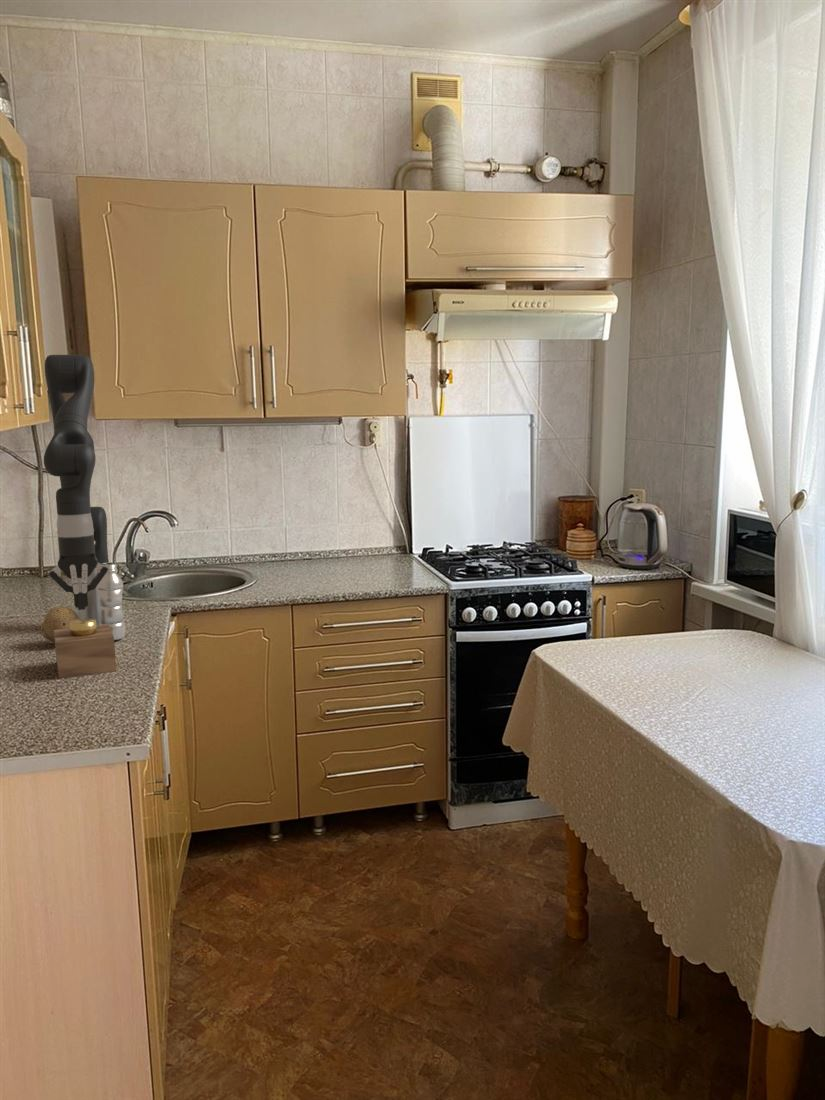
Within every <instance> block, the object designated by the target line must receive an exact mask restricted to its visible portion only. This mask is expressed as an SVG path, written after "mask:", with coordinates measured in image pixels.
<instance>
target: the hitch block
mask: <svg viewBox="0 0 825 1100" xmlns="http://www.w3.org/2000/svg"><path fill="white" fill-rule="evenodd" d="M96 627H97V633H95V634H93V635H89V636H71V632H70V629H61V630H54V636H55V643H54V646H55V659H56V666H57V674H58V679H65V677H66V678H73V676H74V677H81V675H82V676H88V675H89V676H90V675H95V674H104V673H112V672H117V664H116V663H117V661H116V650H115V649H116V647H115V646H116V645H115V640H114V636H113V634H112V631H111V629H110V627H109V624H107V625H98V626H96Z"/></svg>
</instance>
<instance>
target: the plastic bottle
mask: <svg viewBox="0 0 825 1100" xmlns="http://www.w3.org/2000/svg"><path fill="white" fill-rule="evenodd" d="M101 565H103V566H106V567H107V568H108V571H107V573H106V574H105V575H104V577H103V578H102V580H101V581H100V582H99V584H98V585H97V589H98V594H99V599H100V609H101V614H100V625H107V624H109V627H110V629H111V631H112V634H113V636H114V641H117V640H121V639H123V638H124V637H125V635H126V623H125V620H124V614H123V591H124V582H123V579H122V577H121V576H120V575H119V574H118V573H117V572H118V568H117V562H109V563H103V564H101Z"/></svg>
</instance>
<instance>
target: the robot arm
mask: <svg viewBox="0 0 825 1100" xmlns="http://www.w3.org/2000/svg"><path fill="white" fill-rule="evenodd" d="M94 369H95V368H94V363H93V361H92V358H91V357H89V356H87V355H84V354H50V355H47V357H46V358H45V360H44V376H45V382H46V387H47V392H48V398H49V403H50V410H51V414H52V422H53V435H52V437H51V439H50V441H49V443H48V445H47V446H46V449H45V451H44V453H43V454H44V455H43V465H44V469H45V470H46V471H47V473H48V474H49V475H51V476H53V477H59V481H60V488H58V489H57V490H56V492H55V502H56V504H55V505H56V513H57V514H56V515H57V516H56V528H57V530H56V534H57V543H58V553H59V554H58V555H59V558H58V561H57V565H56V566H55V567H54V568H52V569H51V570H49V572H48V576H50V578H51V579H52V580H53V581H55V583H56V584H57V585H58V586H59V587H60V588H62V589H63V590H64V591H65V592H66V593H71V594H73V601H74V602H73V603H74V607H75V613H76V614H77V616H78V618H79V619H95V620H96V626H98V625H100V614H101V609H100V599H99V594H98V589H97V585H98V584H99V582H100V581H101V580H102V578H103V577H104V575H105V574H106V573H107V571H108V568H107V567H106V566H103V565H101V564H103V563H110V561H109V552H108V550H109V549H108V518H107V513H106V510H105V509H104V508H103V507H102V506H91V483H92V478H93V475H94V470H95V467H96V466H95V465H96V460H97V459H96V453H95V443H94V440H93V437H92V435H91V434H90V432H89V430H88V418H89V411H90V409H91V408H90V407H91V403H92V399H93V393H94V388H95V370H94ZM64 394H72V396H71V397H69V398H68V399H67V400H66V398H65V396H64ZM61 571H62V572H63V574H64V575H65V576H66V577H67V578H68V579H70V580H71V585H69V584H68V583H67V582H66V580H64V579H63V578H62V577H61V576H62V572H61Z"/></svg>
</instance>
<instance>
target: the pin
mask: <svg viewBox="0 0 825 1100" xmlns="http://www.w3.org/2000/svg"><path fill="white" fill-rule="evenodd" d="M70 632H71V636H89V635H93V634H95V633H97V627H96V620H95V619H78V620H73V621H71V622H70Z"/></svg>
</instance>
